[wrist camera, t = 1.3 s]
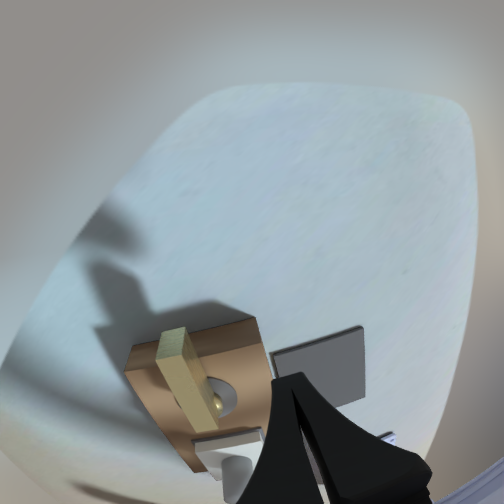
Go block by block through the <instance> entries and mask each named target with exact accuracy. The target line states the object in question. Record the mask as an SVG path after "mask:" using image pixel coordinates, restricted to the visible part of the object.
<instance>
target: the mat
mask: <svg viewBox="0 0 504 504" xmlns="http://www.w3.org/2000/svg"><path fill="white" fill-rule="evenodd" d="M273 356H274V360H275V364H276V367H277V371H278V375H279V378H280V377H283V376H287V375H290V374H294V373H297V372H303V373H304V374H305V375H306V377H307V378H308V380H309V381H310V382H311V384H312V385H313V386H314V387H315V388H316V390H317V391H318V392H319V393H320V394H321V395H322V396H323V397H324V398H325V399H326V400H327V401H328V402H329V403H330V404H331V405H332V406H333V407H334V408H336V407H339V406H342V405H345V404H348V403H351V402H353V401H356V400H359V399H361V398H364V397H365V346H364V328H363V327H360V328H357V329H354V330H351V331H348V332H345V333H342V334H339V335H336V336H333V337H330V338H327V339H324V340H320V341H317V342H314V343H311V344H308V345H304V346H301V347H297V348H294V349H291V350H287V351H284V352H280V353H276V354H273Z"/></svg>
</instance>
